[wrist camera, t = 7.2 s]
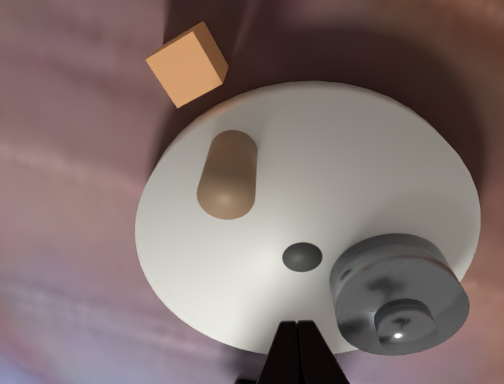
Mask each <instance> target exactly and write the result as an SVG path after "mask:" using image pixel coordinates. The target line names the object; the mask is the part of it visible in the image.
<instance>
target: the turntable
mask: <svg viewBox="0 0 504 384" xmlns="http://www.w3.org/2000/svg"><path fill="white" fill-rule="evenodd" d="M390 233H404V234H411V235H416V236H419V237H422V238H424V239H426V240H429V241H430V242H432V243H433V244H434V245H436V246H437V247H438V248H439V249H440V251H441V252H442V254H443V255H444V257H445V259H446V260H447V262H448V264H449V265H450V267H451V269H452V270H453V272H454V274H455V275H456V277H457V279H458V281H459V282H460V281H461V280H462V278H463V277H464V275H465V273H466V271H467V269H468V267H469V266H470V264H471V262H472V259H473V256H474V253H475V250H476V248H477V244H478V239H479V233H480V205H479V199H478V194H477V190H476V187H475V185H474V182H473V180H472V177H471V175H470V172H469V171H468V169H467V167H466V166H465V164H464V163H463V161H462V159H461V158H460V156H459V155H458V154H457V153H456V151H455V150H454V149H453V148H452V147H451V146H450V145H449V144H448V143H447V142H446V140H445V139H444V138H443V137H442V136H441V135H440V134H439V133H438V132H437V131H436V130H435V129H434V128H433V127H432V126H431V125H430V124H429V123H428V122H427V121H426V120H424V119H423V118H422V117H421V116H419V115H418V114H417V113H415V112H414V111H413V110H412V109H410V108H408V107H407V106H405V105H403V104H401V103H399V102H398V101H396V100H394V99H392V98H391V97H388V96H386V95H383V94H380V93H378V92H375V91H372V90H370V89H367V88H363V87H358V86H354V85H349V84H345V83H338V82H326V81H297V82H286V83H280V84H275V85H269V86H263V87H260V88H257V89H254V90H251V91H248V92H245V93H241V94H239V95H236V96H234V97H232V98H230V99H228V100H226V101H224V102H222V103H219V104H217V105H216V106H214V107H213V108H211V109H209V110H208V111H206V112H205V113H203V114H202V115H200V116H199V117H197V118H196V119H195V120H194V121H193V122H191V123H190V124H189V125H188V126H187V127H186V128H184V129H183V130H182V131H181V132H180V133H179V134H178V135H177V137H176V138H175V139H174V140H173V141H172V143H171V144H170V145H169V146H168V147H167V148H166V150H165V152H164V153H163V155H162V157H161V158H160V160H159V162H158V163H157V165H156V167H155V169H154V170H153V172H152V174H151V176H150V178H149V180H148V182H147V184H146V186H145V189H144V191H143V194H142V196H141V199H140V201H139V206H138V210H137V215H136V224H135V240H136V247H137V254H138V257H139V260H140V264H141V267H142V270H143V272H144V274H145V276H146V278H147V280H148V282H149V284H150V285H151V287H152V288H153V290H154V291H155V293H156V294H157V296H158V297H159V298H160V299H161V300H162V301H163V303H164V304H165V305H166V306H167V307H168V308H169V309H170V310H171V311H172V312H173V313H174V314H176V315H177V316H178V317H179V318H180V319H181V320H183V321H184V322H186V323H187V324H188V325H190V326H191V327H193V328H194V329H196V330H198V331H200V332H201V333H203V334H205V335H207V336H208V337H211V338H213V339H215V340H217V341H220V342H222V343H224V344H227V345H230V346H233V347H236V348H239V349H243V350H247V351H251V352H256V353H261V354H268V351H269V349H270V346H271V343H272V341H273V338H274V335H275V333H276V330H277V328H278V325H279V323H280V322H281V321H286V320H294V321H296V323H297V321H298V320H313V321H314V322H315V324H316V325H317V327H318V329H319V331H320V332H321V334H322V336H323V338H324V339H325V341H326V343H327V345H328V346H329V348H330V350H331V352H332V353H333V354H338V353H344V352H348V351H352V350H357V349H358V348H356V347H354V346H352V345H351V344H349V343H348V342H347V341H346V340H345V339H344V338H343V337H342V335H341V333H340V332H339V329H338V326H337V321H336V316H335V310H334V305H333V300H332V295H331V289H330V283H329V278H330V272H331V269H332V267H333V265H334V263H335V262H336V260H337V259H338V258H339V257H340V256H341V254H343V253H344V252H345V251H346V250H347V249H349V248H350V247H351V246H353V245H355V244H356V243H358V242H360V241H363V240H365V239H367V238H370V237H374V236H378V235H382V234H390Z"/></svg>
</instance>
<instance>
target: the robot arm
mask: <svg viewBox="0 0 504 384" xmlns="http://www.w3.org/2000/svg"><path fill="white" fill-rule="evenodd" d="M235 384H350V383H349V381H348V380H347V378H346V376H345V374H344V373H343V371H342V369H341V367H340V366H339V364H338V362H337V360H336V359H335V357H334V355H333V353H332V352H331V350H330V348H329V346H328V345H327V343H326V341H325V339H324V338H323V336H322V334H321V332H320V331H319V329H318V327H317V325H316V324H315V322H314V321H313V320H298V321H297V323H296V321H294V320H286V321H281V322H280V323H279V325H278V328H277V330H276V333H275V335H274V338H273V341H272V343H271V346H270V349H269V351H268V354H267V356H266V359H265V362H264V364H263V367H262V370H261V372H260V375H259V377H258V380H257V383H254V382H249V381H244V380H238V381H237V382H236V383H235Z"/></svg>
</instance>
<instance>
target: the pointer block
mask: <svg viewBox="0 0 504 384" xmlns="http://www.w3.org/2000/svg"><path fill="white" fill-rule="evenodd" d="M146 61H147V63H148V64H149V66H150V67H151V69H152V71H153V72H154V74H155V75H156V77H157V78H158V80H159V81H160V83H161V84H162V86H163V87H164V89H165V90H166V92H167V93H168V95H169V96H170V98H171V99H172V101H173V102H174V104H175V105H176V107H177V108H179V107H181V106H182V105H184V104H186V103H188V102H190V101H192V100H194V99H195V98H197V97H199V96H201V95H203V94H205V93H207V92H208V91H210V90H212V89H214V88H216V87H218V86H219V85H221V84H223V82H224V79H225V76H226V73H227V70H228V67H229V66H228V64H227V62H226V60H225V59H224V57H223V55H222V53H221V51H220V50H219V48H218V46H217V44H216V42H215V40H214V39H213V37H212V35H211V33H210V31H209V30H208V28H207V26H206V24H205V22H204V21H202V22H200V23H199V24H197V25H195V26H194V27H192V28H190V29H189V30H187V31H185V32H184V33H182V34H180V35H179V36H177V37H175V38H174V39H172V40H171V41H169V42H167V43H166V44H164V45H162V46H161V47H160V48H159V49H158V50H156V51H155V52H154V53H153V54H152V55H150V56H149V57H148V58H147V59H146Z"/></svg>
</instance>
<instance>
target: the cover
mask: <svg viewBox="0 0 504 384" xmlns="http://www.w3.org/2000/svg"><path fill="white" fill-rule="evenodd" d="M329 283H330V289H331V295H332V300H333V305H334V310H335V316H336V321H337V326H338V329H339V332H340V333H341V335H342V337H343V338H344V339H345V340H346V341H347V342H348V343H349V344H351V345H352V346H354V347H356V348H358V349H360V350H362V351H365V352H368V353H372V354H378V355H406V354H412V353H417V352H421V351H424V350H427V349H430V348H432V347H435V346H437V345H439V344H441V343H442V342H444V341H446V340H447V339H449V338H450V337H451V336H453V335H454V334H455V333H456V332H457V331H458V330H459V329H460V328H461V327H462V325H463V324H464V322H465V321H466V319H467V316H468V313H469V300H468V296H467V294H466V292H465V291H464V289H463V287H462V286H461V284H460V282H459V281H458V279H457V277H456V275H455V274H454V272H453V270H452V269H451V267H450V265H449V264H448V262H447V260H446V259H445V257H444V255H443V254H442V252H441V251H440V249H439V248H438V247H437V246H436V245H434V244H433V243H432V242H430V241H429V240H426V239H424V238H422V237H419V236H416V235H411V234H404V233H390V234H382V235H378V236H374V237H370V238H367V239H365V240H363V241H360V242H358V243H356V244H355V245H353V246H351V247H350V248H349V249H347V250H346V251H345V252H344V253H343V254H341V256H340V257H339V258H338V259H337V260H336V262H335V263H334V265H333V267H332V269H331V272H330V278H329Z"/></svg>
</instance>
